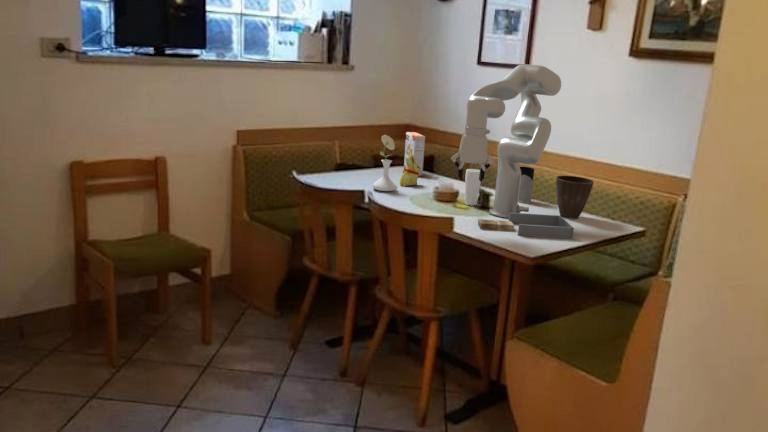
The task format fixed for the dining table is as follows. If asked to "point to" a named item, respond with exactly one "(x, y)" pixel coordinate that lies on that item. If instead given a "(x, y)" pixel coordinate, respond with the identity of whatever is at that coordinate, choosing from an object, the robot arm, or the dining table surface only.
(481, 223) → the tile walnut
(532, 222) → the frame
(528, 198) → the glass holder
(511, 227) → the tile oak
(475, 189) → the drinking glass
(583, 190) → the plant pot
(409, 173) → the chocolate bunny
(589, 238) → the dining table surface
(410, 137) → the cracker box
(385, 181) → the flower in vase
